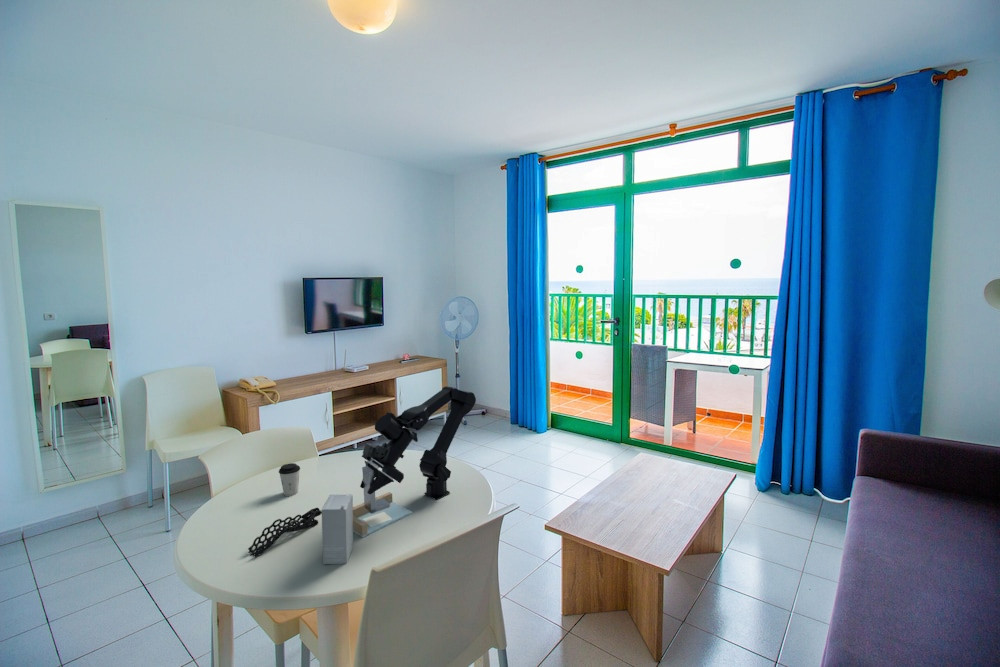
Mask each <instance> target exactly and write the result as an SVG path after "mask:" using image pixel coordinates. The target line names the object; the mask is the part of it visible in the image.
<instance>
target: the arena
mask: <svg viewBox="0 0 1000 667" xmlns="http://www.w3.org/2000/svg"><path fill="white" fill-rule="evenodd" d="M381 498H384V499H385V500H386V501H387V502H388V503H390V507H389V508H386V509H383V510H381V511H378V512H375V513H372V514H371V513H370V512H369V511H368V510H367V509H366V508H365V504H364V502H362V503H360V504H357V505H355V506H353V534H356V535H358V536H359V537H361V538H365V537H367V536H370V535H371V534H373V533H375V532H377V531H379V530H382V529H384V528H386V527H387V526H390V525H392V524H393V523H396V522H398V521H400V520H402V519H404V518H406V517H407V516H410V515H412V514H413V511H411V510H410V509H408V508H406V507H404V506H402V505H400V504H399V503H398V504H397V503H395V502H394V501H393V493H392V492H391V491H388V492H386V493H384V494H382V495H379V496H377V497H376V496H375V500H378V499H381Z"/></svg>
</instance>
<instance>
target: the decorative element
mask: <svg viewBox="0 0 1000 667" xmlns="http://www.w3.org/2000/svg"><path fill="white" fill-rule="evenodd" d="M319 516H322V511H321V510H320V508H319V507H315V508H312V509H310V510H308V511H307V512H305V513H304V514H302V515H301V514H297V515H295V516H294V517H293V518H292V517H291V516H288V517H286V518H285V519H282V518H279V519H278V518H277V519H275V520H274V521H273V523H272V524H270V526H266V527H264V528H263V530H262V531H261V534H260V535H259V536H256V538H254V540H253V542H252V544H251V546H249V547H248V548H247V550H249V551H247V553H248V554H250V556H251V555H252V557H254V556H255V557H258V556H260V555H261V554H263V553H264V552H265V551H267V550H268V549H269V548H270V547H272V546H273V545H274V544H275V543H276V542H277V540H278V539H279V538H280V537H281V536H282V535H283V534H285V533H292V532H297V531H302V530H304V529H308V528H310V527H316V526H318V525H319V520H318V519H315V518H317V517H319ZM277 522H278V523H277ZM282 523H283V524H282ZM281 524H282V525H281ZM272 528H273V529H272ZM271 529H272V530H271ZM266 531H267V532H266ZM265 532H266V533H265ZM274 533H275V534H274ZM269 534H271V535H270V536H269V537H268V535H269ZM263 537H264V539H263V540H262V538H263ZM259 544H261V545H259ZM258 545H259V546H258ZM253 548H254V549H253ZM254 554H255V555H254ZM259 554H260V555H259Z"/></svg>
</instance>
